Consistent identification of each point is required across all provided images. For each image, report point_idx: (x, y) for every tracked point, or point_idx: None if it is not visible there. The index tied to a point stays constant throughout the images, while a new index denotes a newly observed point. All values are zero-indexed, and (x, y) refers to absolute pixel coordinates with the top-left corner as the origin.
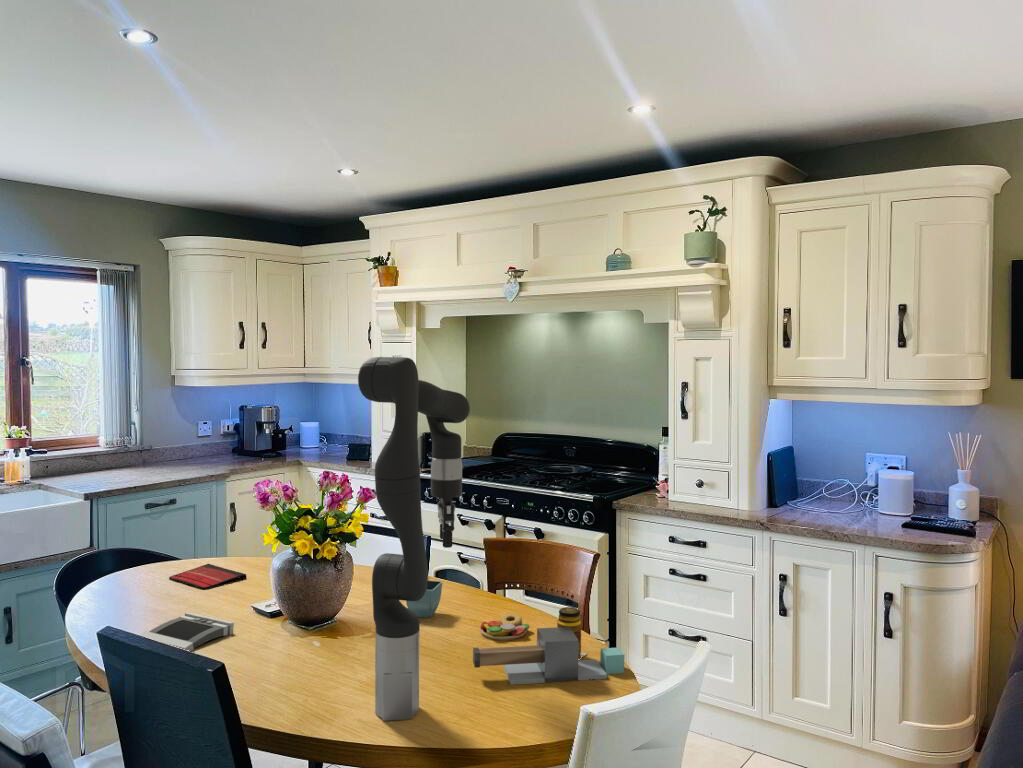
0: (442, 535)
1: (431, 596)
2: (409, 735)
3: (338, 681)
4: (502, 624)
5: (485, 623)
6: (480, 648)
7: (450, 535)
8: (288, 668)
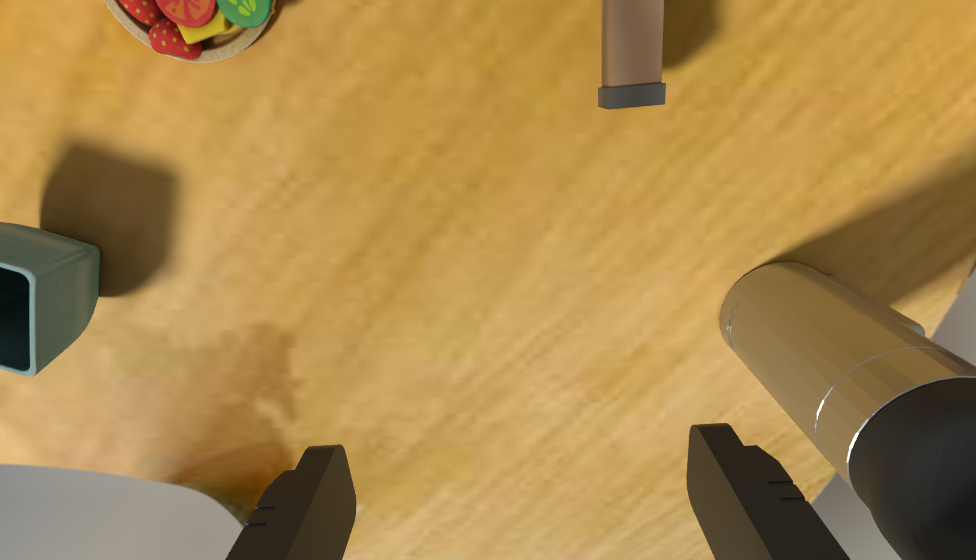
0: (343, 520)
1: (54, 268)
2: (914, 278)
3: (581, 446)
4: None
5: (174, 36)
6: (611, 79)
7: (838, 548)
8: (497, 544)
